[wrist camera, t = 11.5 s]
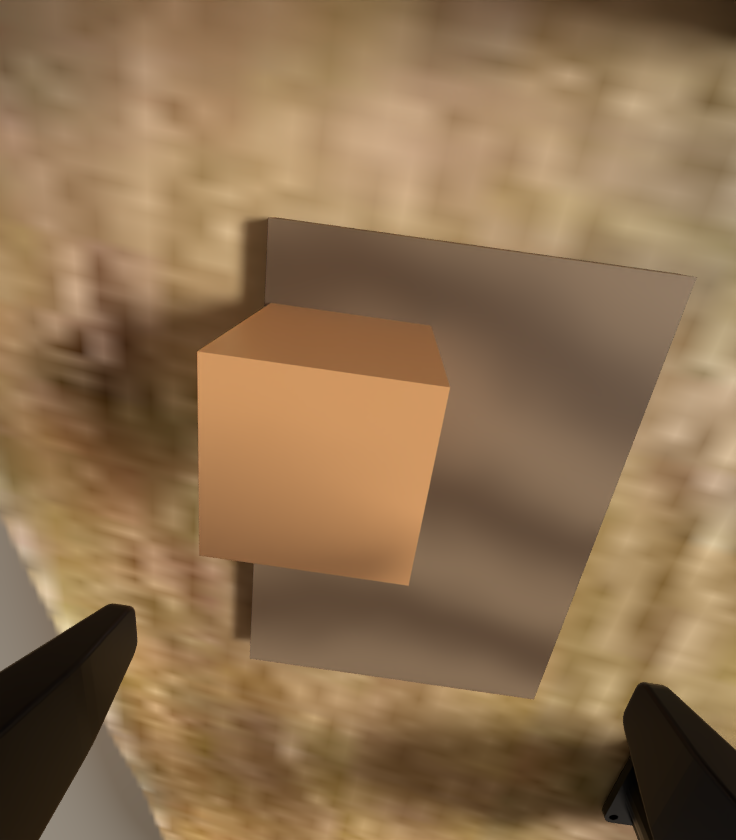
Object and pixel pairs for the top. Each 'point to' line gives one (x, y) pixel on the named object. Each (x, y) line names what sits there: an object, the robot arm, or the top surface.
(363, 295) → the walnut board
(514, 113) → the top surface
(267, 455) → the square block
